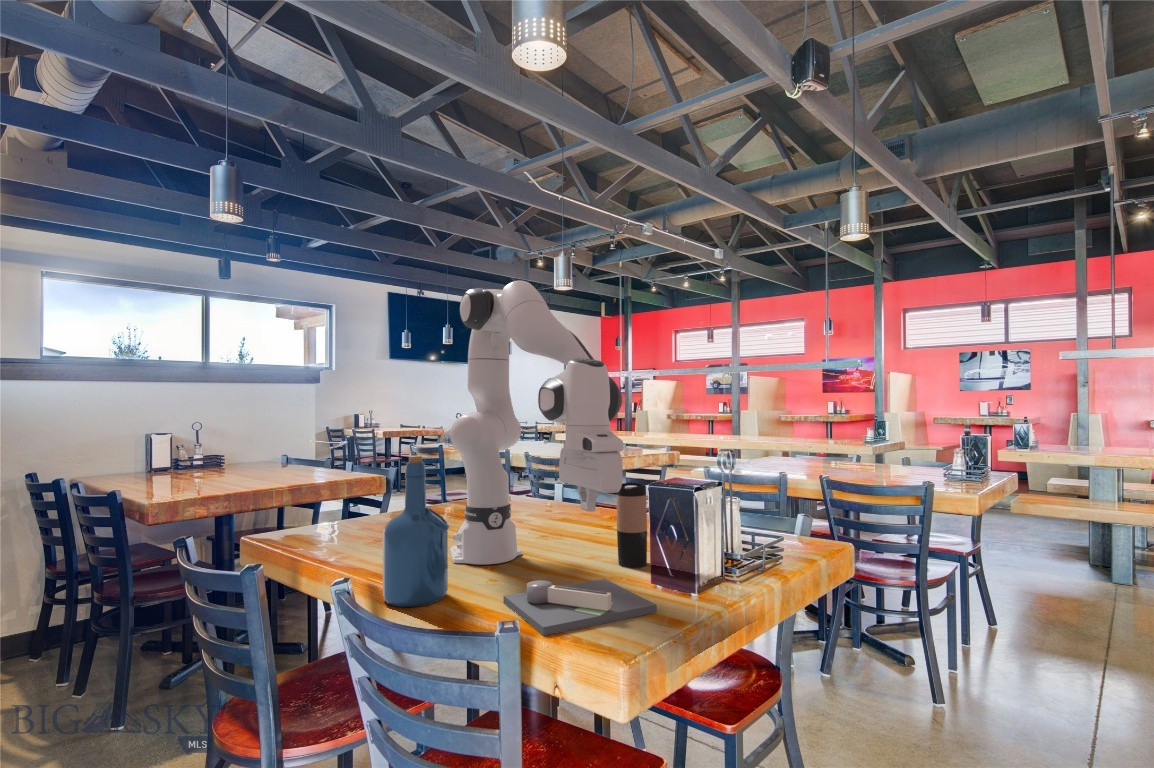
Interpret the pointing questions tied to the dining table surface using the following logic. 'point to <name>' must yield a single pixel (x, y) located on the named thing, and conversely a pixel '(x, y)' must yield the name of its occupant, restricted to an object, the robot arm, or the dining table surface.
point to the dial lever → (567, 596)
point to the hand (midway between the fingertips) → (588, 510)
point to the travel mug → (632, 525)
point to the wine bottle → (415, 547)
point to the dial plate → (579, 608)
